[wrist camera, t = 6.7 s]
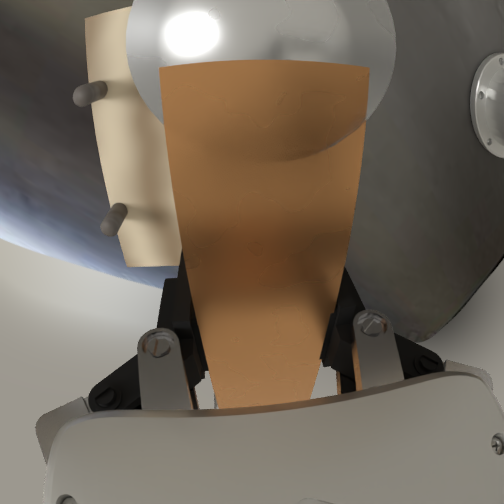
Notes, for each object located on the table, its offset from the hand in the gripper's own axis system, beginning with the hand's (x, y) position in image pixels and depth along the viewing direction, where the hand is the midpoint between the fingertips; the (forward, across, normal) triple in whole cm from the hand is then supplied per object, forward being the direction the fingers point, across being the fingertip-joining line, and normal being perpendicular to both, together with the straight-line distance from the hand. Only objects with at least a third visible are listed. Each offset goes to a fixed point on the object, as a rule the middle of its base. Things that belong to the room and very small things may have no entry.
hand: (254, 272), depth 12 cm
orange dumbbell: (0, 0, 0) cm, 0 cm away
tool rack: (+16, +6, -2) cm, 17 cm away
